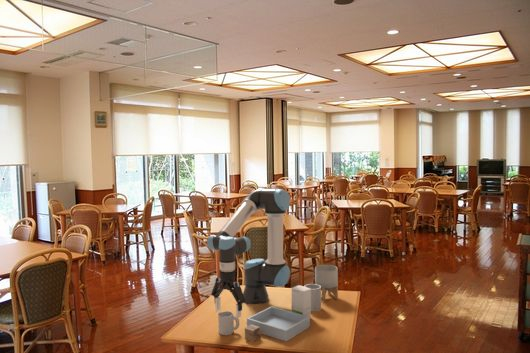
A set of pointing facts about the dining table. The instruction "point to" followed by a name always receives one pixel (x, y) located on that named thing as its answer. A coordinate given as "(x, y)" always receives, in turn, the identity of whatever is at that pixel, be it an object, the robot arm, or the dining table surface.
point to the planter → (327, 279)
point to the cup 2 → (315, 296)
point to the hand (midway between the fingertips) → (228, 313)
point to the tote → (279, 323)
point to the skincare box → (301, 300)
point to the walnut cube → (252, 332)
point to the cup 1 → (227, 323)
